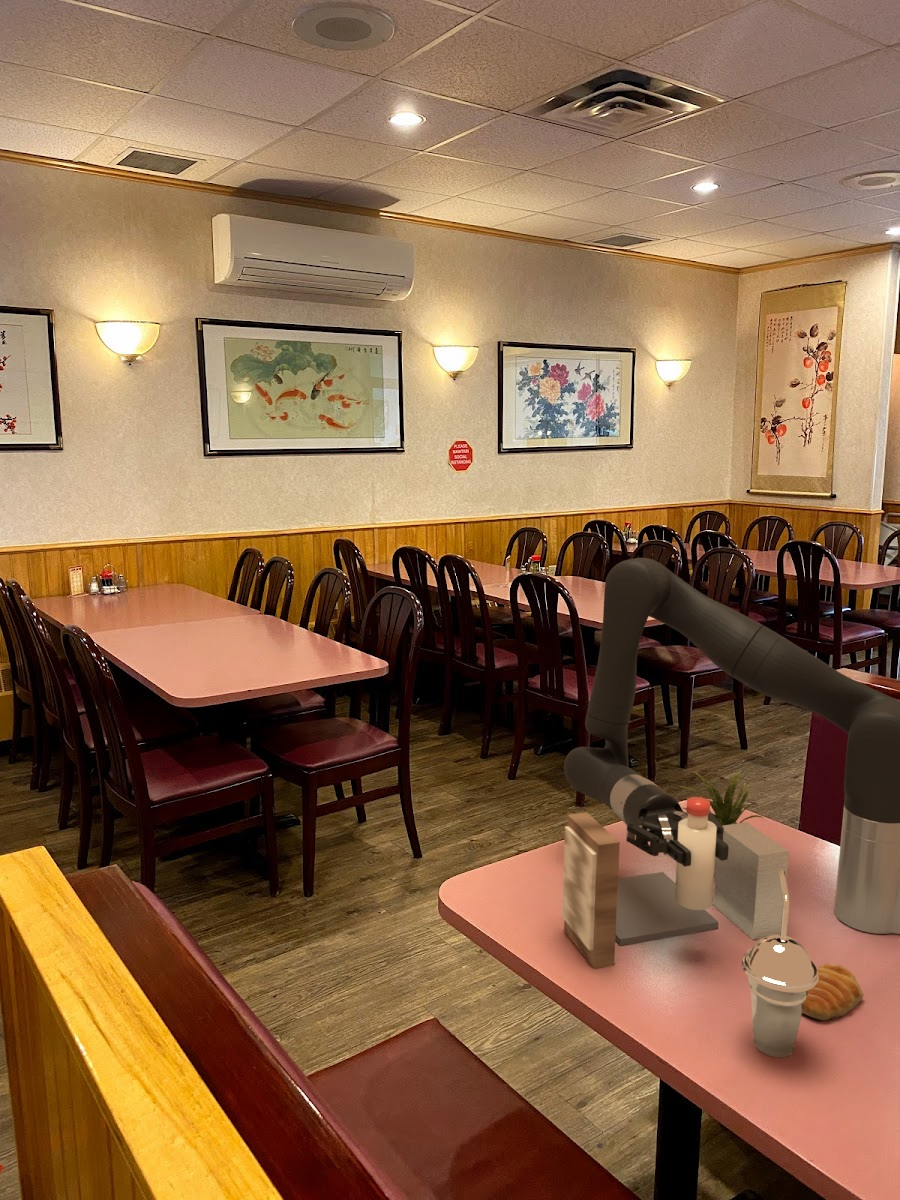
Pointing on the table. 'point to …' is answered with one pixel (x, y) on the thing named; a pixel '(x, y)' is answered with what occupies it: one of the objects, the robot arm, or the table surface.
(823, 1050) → the table surface
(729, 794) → the house plant
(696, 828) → the sauce bottle
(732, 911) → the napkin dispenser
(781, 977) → the cup with straw
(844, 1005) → the pastry
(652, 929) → the slate tray
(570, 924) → the stand
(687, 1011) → the table surface
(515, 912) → the table surface
